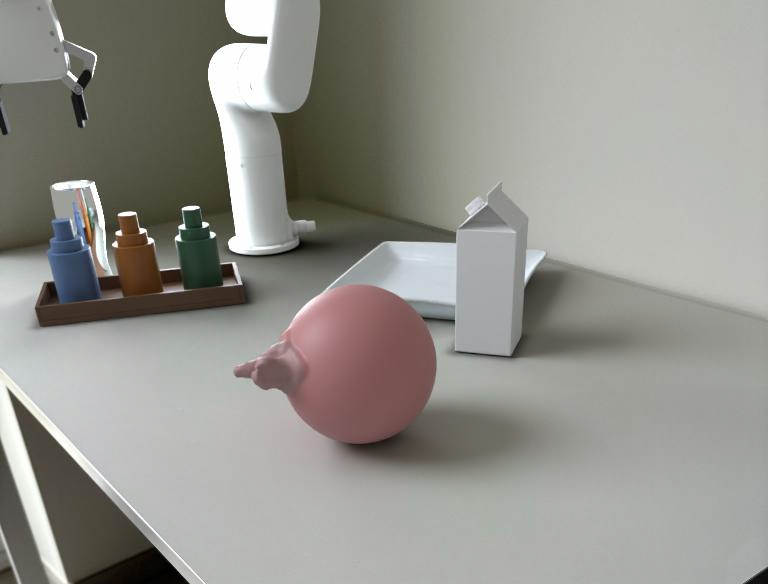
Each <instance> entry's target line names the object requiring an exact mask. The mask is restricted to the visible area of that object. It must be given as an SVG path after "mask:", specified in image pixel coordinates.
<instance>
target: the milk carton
mask: <svg viewBox="0 0 768 584" xmlns="http://www.w3.org/2000/svg"><path fill="white" fill-rule="evenodd" d="M502 187H503V181H502V180H500V181H499V182H497V183H496V184H495V185H494V186H493V187H492V188H491V189H490V190H489V191H488V192H487V193H486V202H485V201H484V200H483V198H482V197H481V195H478V196H477V197H476V198H474V199H473V200H471V202H470V203H469V204H468V205H466V207H465V208H464V209H465V210H466V212H467V213H468V215H469V217H468V218H467V219H465V221H464V222H463V223H462V224H460V225H459V227H458V228H457V229H456V240H455V241H456V242H455V243H456V307H455V320H454V350H455V352H463V353H472V354H473V353H474V354H481V355H493V356H503V357H504V356H505V357H512V355H513V353H514V351H515V349H516V347H517V345H518V343H519V342H520V340H521V338H522V332H523V331H522V329H523V313H524V299H525V298H524V297H525V288H524V283H525V267H526V251H527V249H528V232H529V216H528V215H527V214H526V213H525V212H524V211H523V210H521V208H520V207H519V206H518V205H517V204H516V203H515V202H514V201H512V199H510V197H508V195H506V193H504V192H503V191H502V189H503V188H502Z"/></svg>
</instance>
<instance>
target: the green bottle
mask: <svg viewBox="0 0 768 584" xmlns="http://www.w3.org/2000/svg"><path fill="white" fill-rule="evenodd" d="M181 212H182V219H183V224H180V225H179V226H178V233H179V234H178V235H176V236H175V237H174V242H175V248H176V253H177V258H178V263H179V268H180V270H181V276H182V281H183V287H184V290H189V289H198V288H207V287H216V286H224V285H223V278H222V271H221V265H220V263H221V258H220V252H219V246H218V239H217V234H216V233H215V232H213V231H211V229H210V224H209V223H208V222H205V221H203V219H202V212H201V207H200V206H198V205H189V206H184V207H182V208H181Z"/></svg>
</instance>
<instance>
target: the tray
mask: <svg viewBox="0 0 768 584" xmlns="http://www.w3.org/2000/svg"><path fill="white" fill-rule="evenodd" d="M220 265H221V271H222V278H223V285H224V286H216V287H207V288H198V289H189V290H184V287H183V281H182V276H181V270H180V267H173V268H164V269H160V274H161V280H162V285H163V290H164V292H162V293H153V294H144V295H135V296H126V297H123V294H122V289H121V285H120V280H119V276H118V273H117V274H113V275H106V276H97V278H98V282H99V286H100V291H101V295H102V299H98V300H89V301H80V302H71V303H62V304H60V301H59V297H58V293H57V290H56V286H55V282H54V280H49V281H43V284H42V286H41V289H40V292H39V294H38V297H37V300H36V302H35V305H34V311H35V314H36V318H37V322H38V325H39V327H49V326H58V325H67V324H75V323H85V322H92V321H100V320H102V321H103V320H110V319H119V318H127V317H136V316H144V315H154V314H163V313H171V312H179V311H187V310H188V311H189V310H196V309H197V310H198V309H205V308H214V307H223V306H232V305H241V304H246V299H245V291H244V284H243V280H242V278H241V275H240V271H239V268H238V265H237V262H236V261H230V262H220Z"/></svg>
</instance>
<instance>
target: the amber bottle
mask: <svg viewBox="0 0 768 584" xmlns="http://www.w3.org/2000/svg"><path fill="white" fill-rule="evenodd" d="M117 219H118V223H119V228H120V230H118V231H115V233H114V236H115V241H113V242H112V243H111V249H112V253H113V256H114V261H115V262H114V263H115V266H116V272H117V274H118V276H119V280H120V285H121V289H122V294H123V297H126V296H135V295H144V294H153V293H162V292H164V290H163V285H162V280H161V274H160V270H161V269H160V264H159V260H158V254H157V249H156V244H155V240H154V239H153V238H152V237H148V232H147V229H145V228H142V227H140V224H139V219H138V215H137V212H136V211H124V212H120V213H118V214H117Z"/></svg>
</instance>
